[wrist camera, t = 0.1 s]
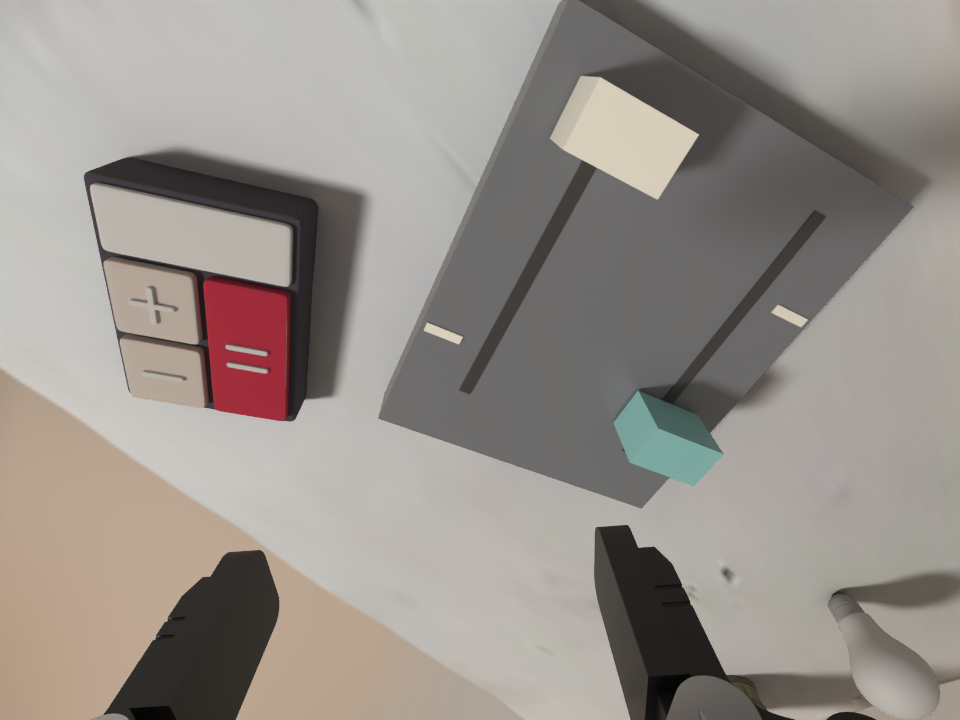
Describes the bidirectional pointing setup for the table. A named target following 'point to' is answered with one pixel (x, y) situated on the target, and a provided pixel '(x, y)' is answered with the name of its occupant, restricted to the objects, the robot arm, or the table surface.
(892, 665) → the lightbulb
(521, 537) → the table surface
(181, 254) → the calculator
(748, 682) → the thermos
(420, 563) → the table surface
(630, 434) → the fader teal
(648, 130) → the block
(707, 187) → the console
